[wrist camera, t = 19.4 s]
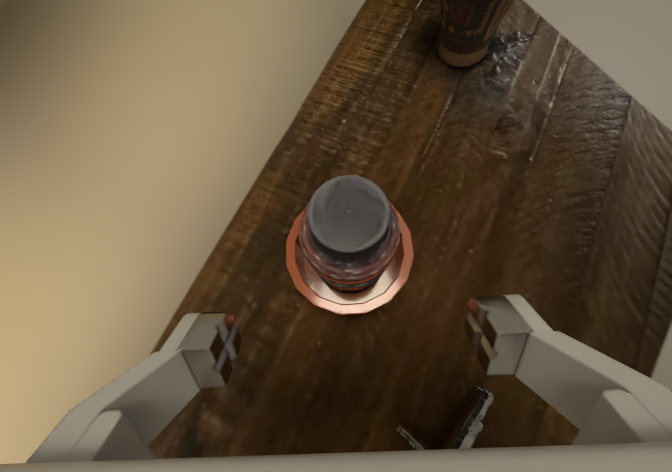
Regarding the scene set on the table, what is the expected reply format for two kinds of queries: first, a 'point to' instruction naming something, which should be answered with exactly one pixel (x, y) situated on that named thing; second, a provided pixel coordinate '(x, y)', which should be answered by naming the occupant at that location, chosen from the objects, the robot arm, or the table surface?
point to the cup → (468, 29)
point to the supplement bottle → (349, 233)
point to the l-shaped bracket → (470, 426)
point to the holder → (349, 302)
